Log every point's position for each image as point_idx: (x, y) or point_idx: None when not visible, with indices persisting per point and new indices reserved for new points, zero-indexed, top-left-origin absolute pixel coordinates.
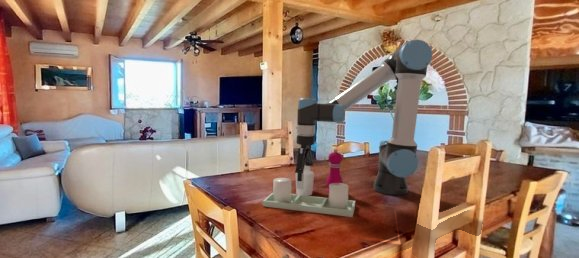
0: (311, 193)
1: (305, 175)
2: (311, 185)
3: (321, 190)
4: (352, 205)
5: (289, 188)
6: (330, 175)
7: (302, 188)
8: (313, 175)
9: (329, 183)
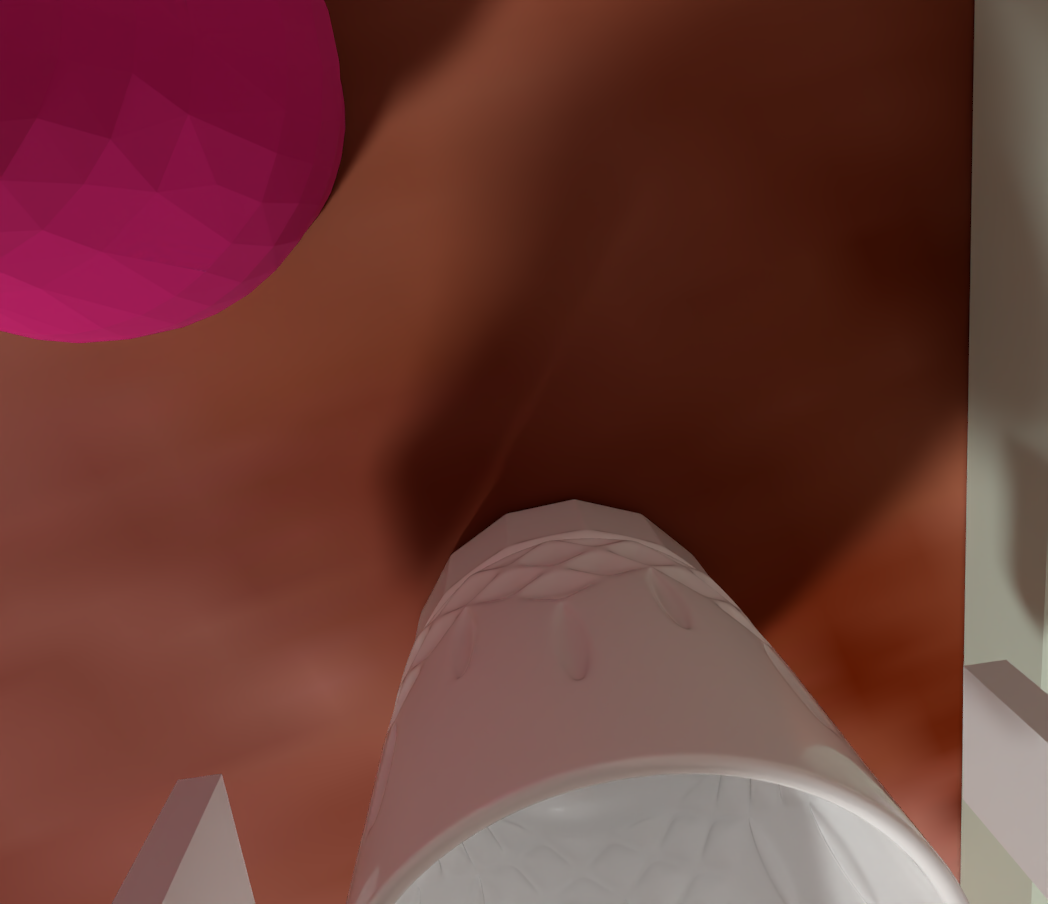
0: (595, 516)
1: (960, 892)
2: (671, 585)
3: (99, 447)
4: None
5: None
6: (103, 174)
7: (1014, 672)
8: (644, 709)
9: (306, 177)
